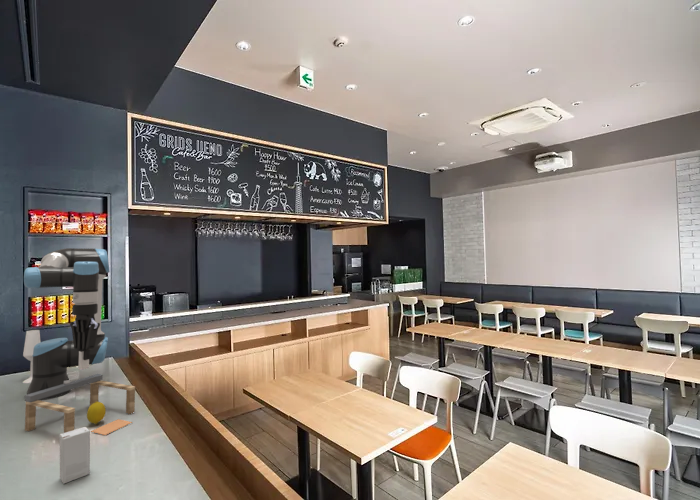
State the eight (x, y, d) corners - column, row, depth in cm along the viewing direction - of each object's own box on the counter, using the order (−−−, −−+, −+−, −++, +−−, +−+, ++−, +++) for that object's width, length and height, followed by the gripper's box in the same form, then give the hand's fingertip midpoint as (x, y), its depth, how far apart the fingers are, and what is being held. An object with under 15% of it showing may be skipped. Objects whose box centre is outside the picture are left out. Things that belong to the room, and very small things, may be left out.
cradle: (24, 430, 125) (25, 401, 125) (94, 404, 148) (95, 379, 148) (67, 441, 117) (68, 410, 118) (134, 412, 140) (135, 386, 140)
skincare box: (85, 468, 102) (86, 425, 103) (90, 474, 100) (91, 430, 100) (58, 478, 98) (59, 433, 98) (62, 485, 95) (63, 438, 95)
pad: (90, 432, 124) (90, 431, 124) (118, 420, 133) (118, 419, 133) (105, 435, 121) (105, 434, 121) (132, 423, 131) (132, 422, 131)
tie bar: (24, 401, 125) (25, 391, 125) (97, 378, 148) (97, 370, 148) (30, 402, 124) (30, 392, 124) (102, 379, 147) (102, 371, 147)
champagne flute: (25, 379, 177) (26, 330, 178) (42, 377, 180) (44, 329, 181) (19, 383, 171) (21, 332, 172) (37, 381, 174) (39, 331, 175)
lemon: (95, 428, 127) (96, 405, 127) (82, 426, 128) (83, 403, 128) (109, 421, 132) (109, 399, 132) (96, 420, 133) (96, 398, 134)
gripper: (62, 304, 132) (60, 369, 131) (86, 305, 127) (84, 373, 126) (84, 302, 139) (82, 364, 138) (107, 303, 134) (106, 367, 133)
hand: (83, 368), depth 132 cm, fingers closed
